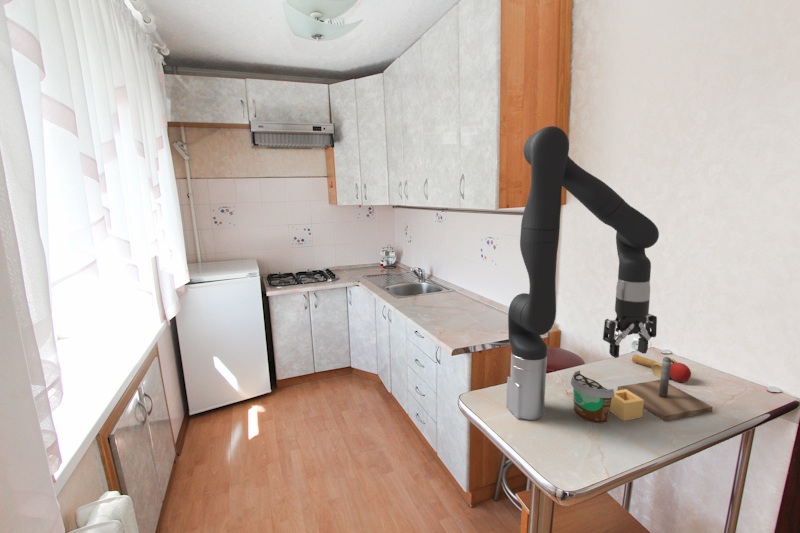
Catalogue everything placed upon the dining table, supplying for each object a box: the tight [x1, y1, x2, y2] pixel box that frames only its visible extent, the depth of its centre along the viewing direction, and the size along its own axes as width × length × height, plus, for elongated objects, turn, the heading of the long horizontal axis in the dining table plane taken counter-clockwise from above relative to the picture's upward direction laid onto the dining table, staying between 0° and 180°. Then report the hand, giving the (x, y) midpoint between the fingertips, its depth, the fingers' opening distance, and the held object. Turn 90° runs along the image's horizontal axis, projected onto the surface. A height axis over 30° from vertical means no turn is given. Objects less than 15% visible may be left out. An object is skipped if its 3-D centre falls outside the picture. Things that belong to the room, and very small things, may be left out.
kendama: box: [631, 354, 692, 383], centre depth 127 cm, size 8×6×18 cm
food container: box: [570, 370, 615, 424], centre depth 104 cm, size 12×6×10 cm, turn 19°
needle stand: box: [616, 356, 714, 422], centre depth 109 cm, size 16×16×14 cm
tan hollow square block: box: [609, 389, 644, 421], centre depth 105 cm, size 6×6×5 cm
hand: (628, 354), depth 102 cm, fingers open, 8 cm apart
